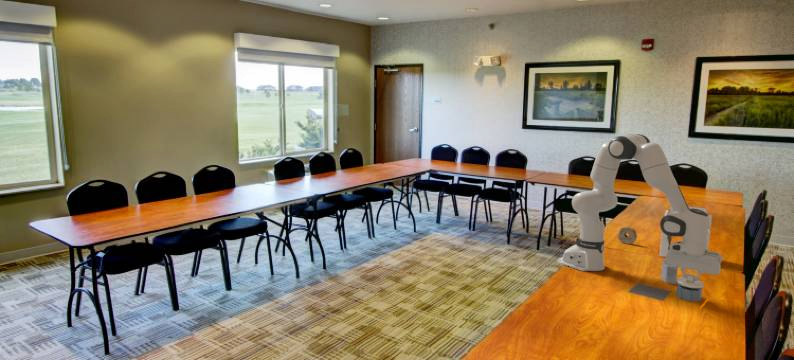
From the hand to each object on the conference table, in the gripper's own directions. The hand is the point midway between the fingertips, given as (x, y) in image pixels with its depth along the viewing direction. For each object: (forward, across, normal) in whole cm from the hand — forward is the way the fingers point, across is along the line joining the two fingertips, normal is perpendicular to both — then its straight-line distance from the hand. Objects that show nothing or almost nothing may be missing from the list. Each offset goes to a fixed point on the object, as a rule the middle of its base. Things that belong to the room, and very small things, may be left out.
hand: (690, 279), depth 215 cm
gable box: (+9, +17, -64) cm, 67 cm away
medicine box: (+9, +12, -16) cm, 22 cm away
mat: (+8, +14, +5) cm, 17 cm away
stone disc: (+9, +48, -69) cm, 85 cm away
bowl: (+8, 0, 0) cm, 9 cm away
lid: (+2, 0, 0) cm, 2 cm away
